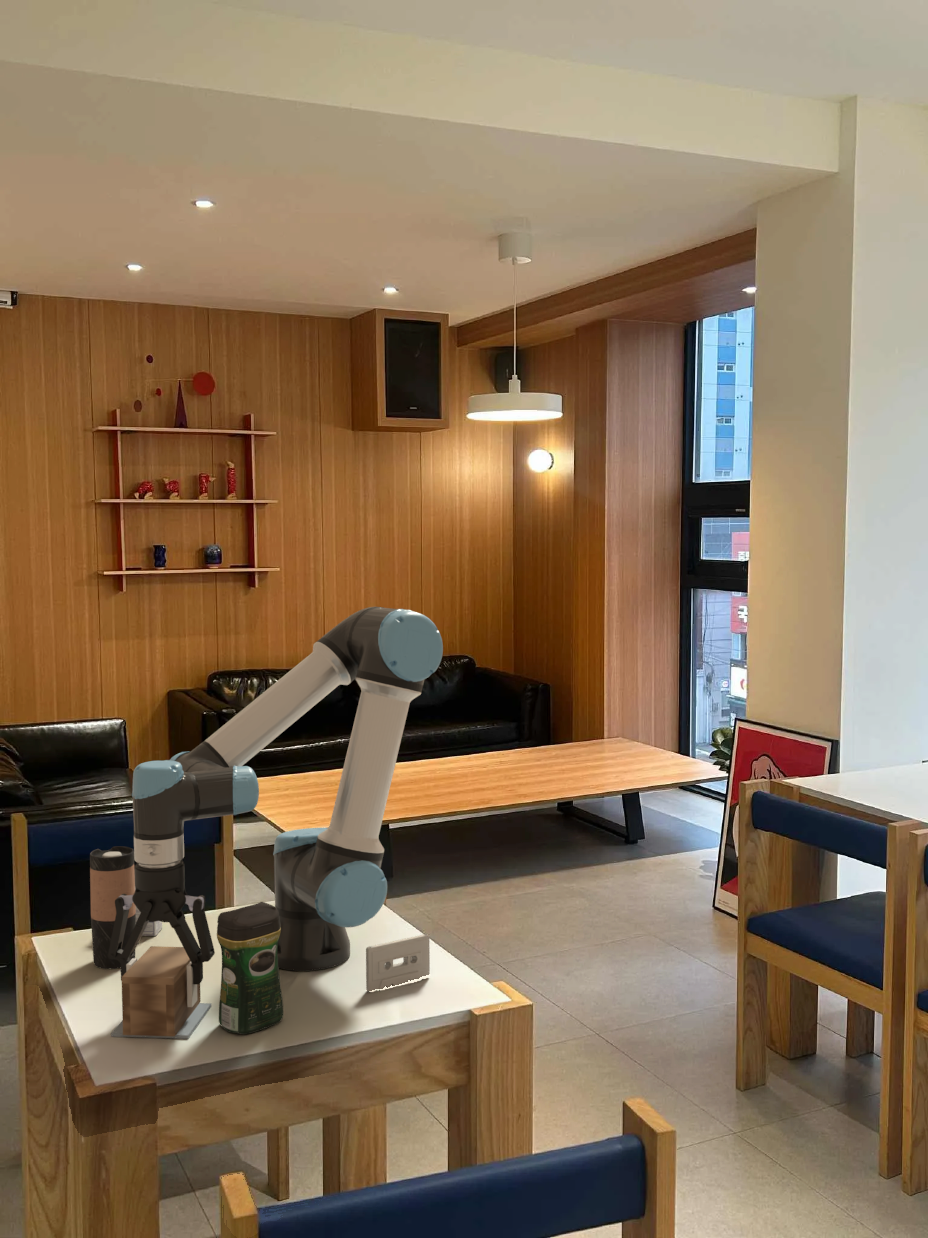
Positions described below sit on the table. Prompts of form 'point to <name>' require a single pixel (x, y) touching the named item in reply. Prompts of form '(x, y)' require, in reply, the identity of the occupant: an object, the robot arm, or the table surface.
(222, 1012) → the coffee jar
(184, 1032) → the slate mat
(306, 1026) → the table surface
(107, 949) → the travel mug
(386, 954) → the cassette
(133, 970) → the tan rectangular box
